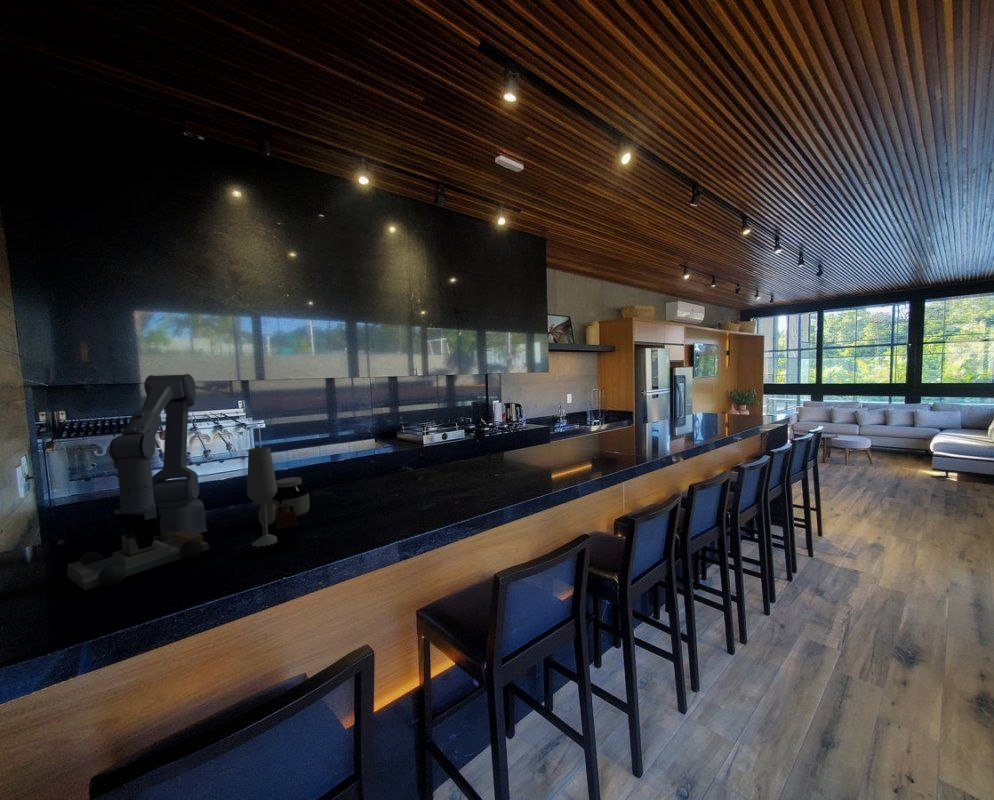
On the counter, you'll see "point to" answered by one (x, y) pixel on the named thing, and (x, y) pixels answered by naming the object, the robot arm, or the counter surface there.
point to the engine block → (133, 546)
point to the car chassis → (135, 560)
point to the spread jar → (288, 498)
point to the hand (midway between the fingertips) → (141, 545)
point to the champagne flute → (261, 487)
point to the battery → (286, 527)
